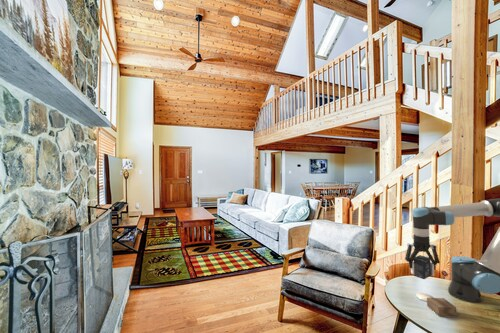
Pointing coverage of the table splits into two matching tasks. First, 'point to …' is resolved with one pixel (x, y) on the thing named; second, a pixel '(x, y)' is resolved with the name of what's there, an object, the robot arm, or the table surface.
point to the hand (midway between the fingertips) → (422, 274)
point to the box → (422, 267)
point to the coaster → (423, 296)
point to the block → (441, 307)
